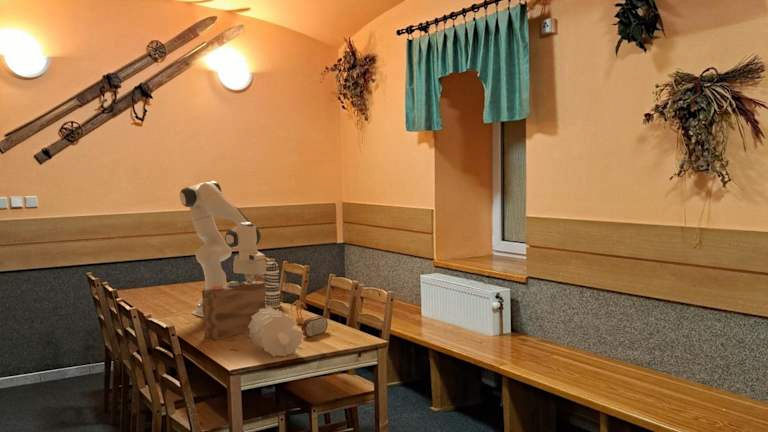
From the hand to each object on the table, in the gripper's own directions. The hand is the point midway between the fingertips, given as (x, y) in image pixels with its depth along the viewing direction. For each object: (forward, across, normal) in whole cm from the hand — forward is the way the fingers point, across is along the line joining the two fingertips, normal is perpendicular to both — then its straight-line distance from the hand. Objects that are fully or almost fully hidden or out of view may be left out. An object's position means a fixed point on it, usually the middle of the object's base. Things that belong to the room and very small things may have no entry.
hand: (249, 283), depth 338 cm
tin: (+22, +39, +4) cm, 45 cm away
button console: (+22, 0, -10) cm, 24 cm away
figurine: (+22, +16, +17) cm, 32 cm away
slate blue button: (0, 0, -10) cm, 10 cm away
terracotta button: (0, 0, -20) cm, 20 cm away
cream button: (+2, 0, 0) cm, 2 cm away
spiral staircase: (+22, +44, -26) cm, 56 cm away
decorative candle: (+22, -28, +41) cm, 54 cm away
